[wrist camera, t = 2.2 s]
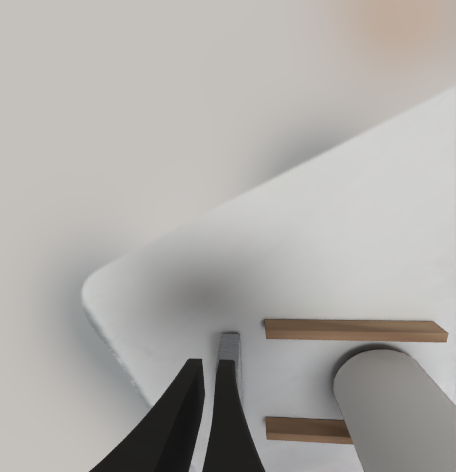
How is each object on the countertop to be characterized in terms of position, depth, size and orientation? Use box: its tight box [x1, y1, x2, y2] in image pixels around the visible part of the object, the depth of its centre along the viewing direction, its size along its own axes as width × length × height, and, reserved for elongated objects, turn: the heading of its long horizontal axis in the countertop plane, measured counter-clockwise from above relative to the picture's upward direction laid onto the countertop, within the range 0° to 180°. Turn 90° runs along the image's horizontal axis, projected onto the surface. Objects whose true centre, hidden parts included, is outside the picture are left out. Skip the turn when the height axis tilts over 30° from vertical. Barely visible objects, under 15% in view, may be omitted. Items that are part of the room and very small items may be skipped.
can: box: [333, 350, 456, 472], centre depth 16 cm, size 8×8×12 cm
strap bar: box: [216, 334, 243, 409], centre depth 20 cm, size 9×2×4 cm, turn 2°
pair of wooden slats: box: [265, 319, 448, 445], centre depth 21 cm, size 12×14×2 cm
